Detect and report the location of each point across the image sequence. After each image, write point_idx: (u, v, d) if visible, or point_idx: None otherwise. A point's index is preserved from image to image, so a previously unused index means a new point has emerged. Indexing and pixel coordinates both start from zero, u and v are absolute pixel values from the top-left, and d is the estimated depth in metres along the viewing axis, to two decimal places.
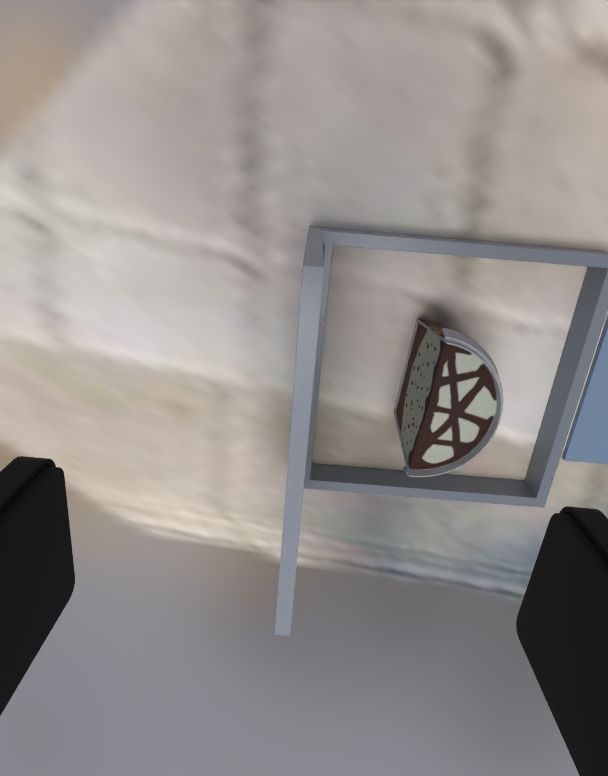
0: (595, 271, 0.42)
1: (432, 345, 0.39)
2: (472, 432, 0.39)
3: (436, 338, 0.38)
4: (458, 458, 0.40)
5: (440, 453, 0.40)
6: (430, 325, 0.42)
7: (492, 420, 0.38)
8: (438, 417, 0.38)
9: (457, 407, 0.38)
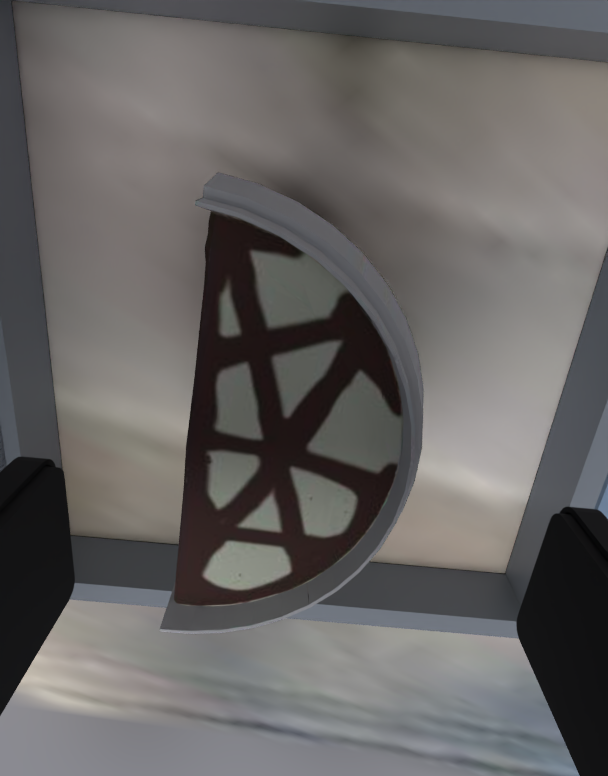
0: None
1: None
2: (337, 508, 0.13)
3: None
4: (305, 578, 0.14)
5: (253, 565, 0.14)
6: None
7: (393, 477, 0.13)
8: (226, 466, 0.12)
9: (284, 436, 0.12)
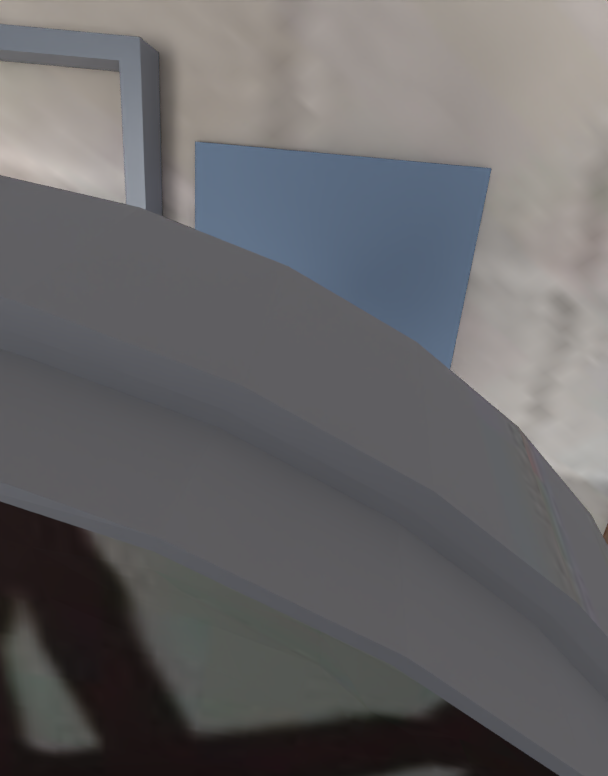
0: None
1: None
2: None
3: None
4: None
5: None
6: None
7: None
8: None
9: None
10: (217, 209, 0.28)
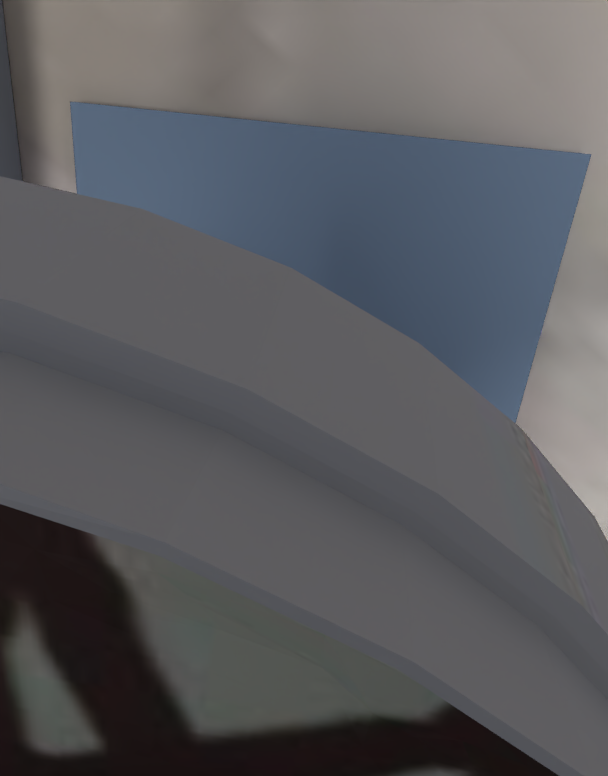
0: None
1: None
2: None
3: None
4: None
5: None
6: None
7: None
8: None
9: None
10: None
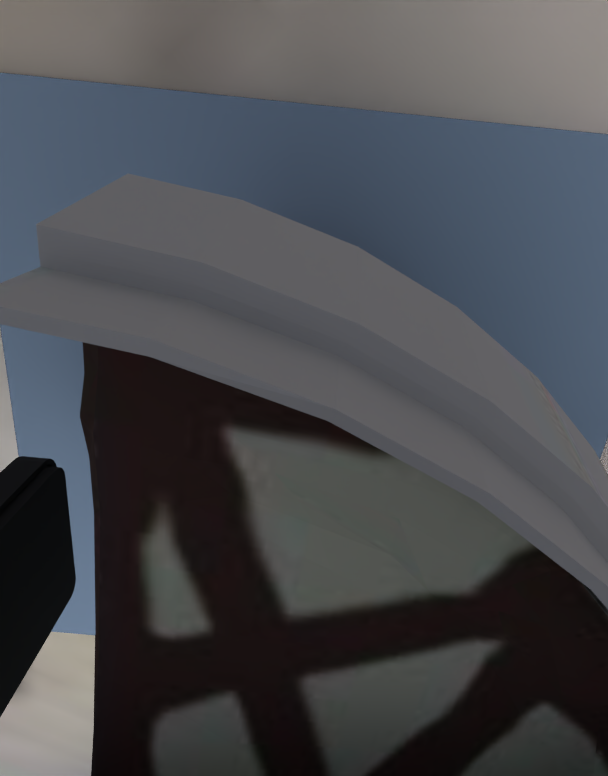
0: None
1: None
2: None
3: None
4: None
5: None
6: None
7: None
8: None
9: None
10: None
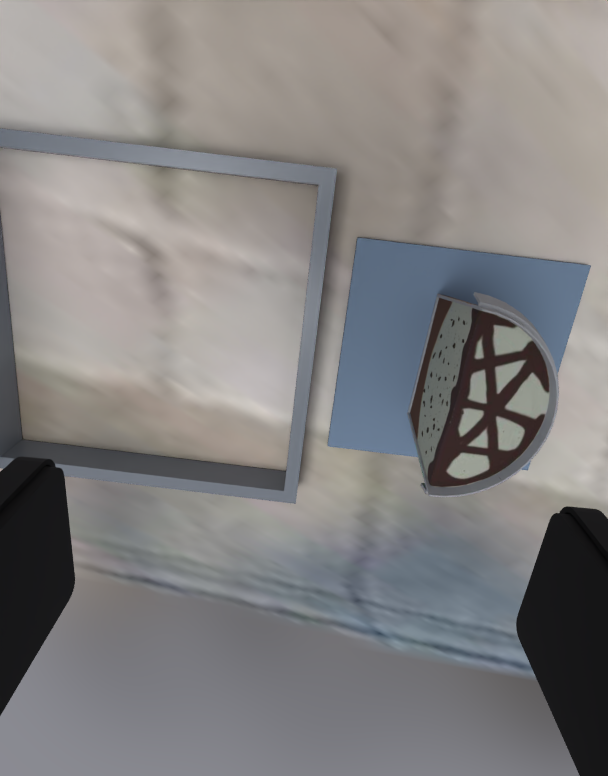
0: None
1: (459, 320, 0.29)
2: (514, 436, 0.29)
3: (465, 309, 0.29)
4: (496, 471, 0.30)
5: (471, 465, 0.30)
6: (455, 298, 0.32)
7: (543, 420, 0.28)
8: (469, 415, 0.28)
9: (495, 401, 0.28)
10: (368, 289, 0.35)
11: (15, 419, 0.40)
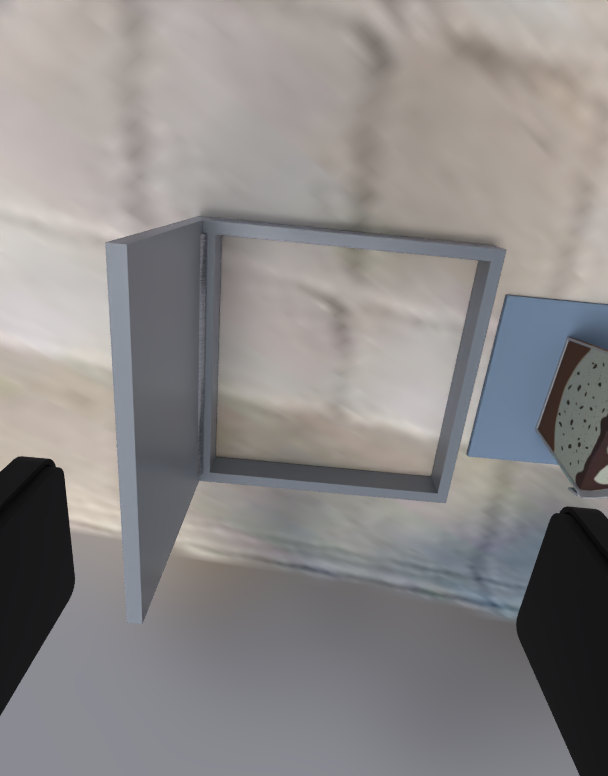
0: (482, 265, 0.42)
1: (605, 365, 0.39)
2: None
3: None
4: None
5: None
6: (590, 344, 0.42)
7: None
8: None
9: None
10: (512, 334, 0.45)
11: (214, 441, 0.49)
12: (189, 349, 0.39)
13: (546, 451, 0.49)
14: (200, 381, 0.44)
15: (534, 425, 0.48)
